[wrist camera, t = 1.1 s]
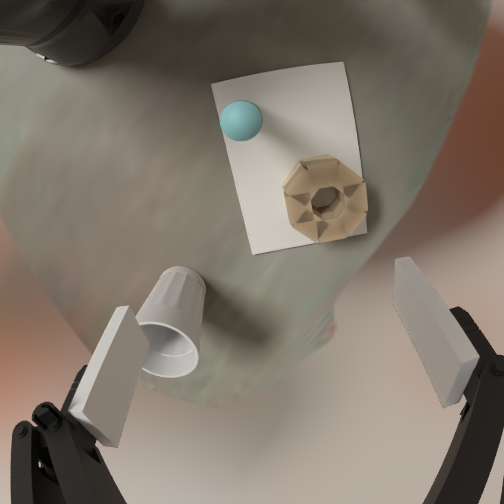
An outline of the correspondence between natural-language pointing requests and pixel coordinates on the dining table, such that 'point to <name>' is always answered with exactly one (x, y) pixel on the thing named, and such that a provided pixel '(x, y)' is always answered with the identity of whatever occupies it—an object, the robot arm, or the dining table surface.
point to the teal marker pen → (241, 120)
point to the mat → (288, 143)
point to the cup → (173, 322)
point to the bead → (340, 209)
